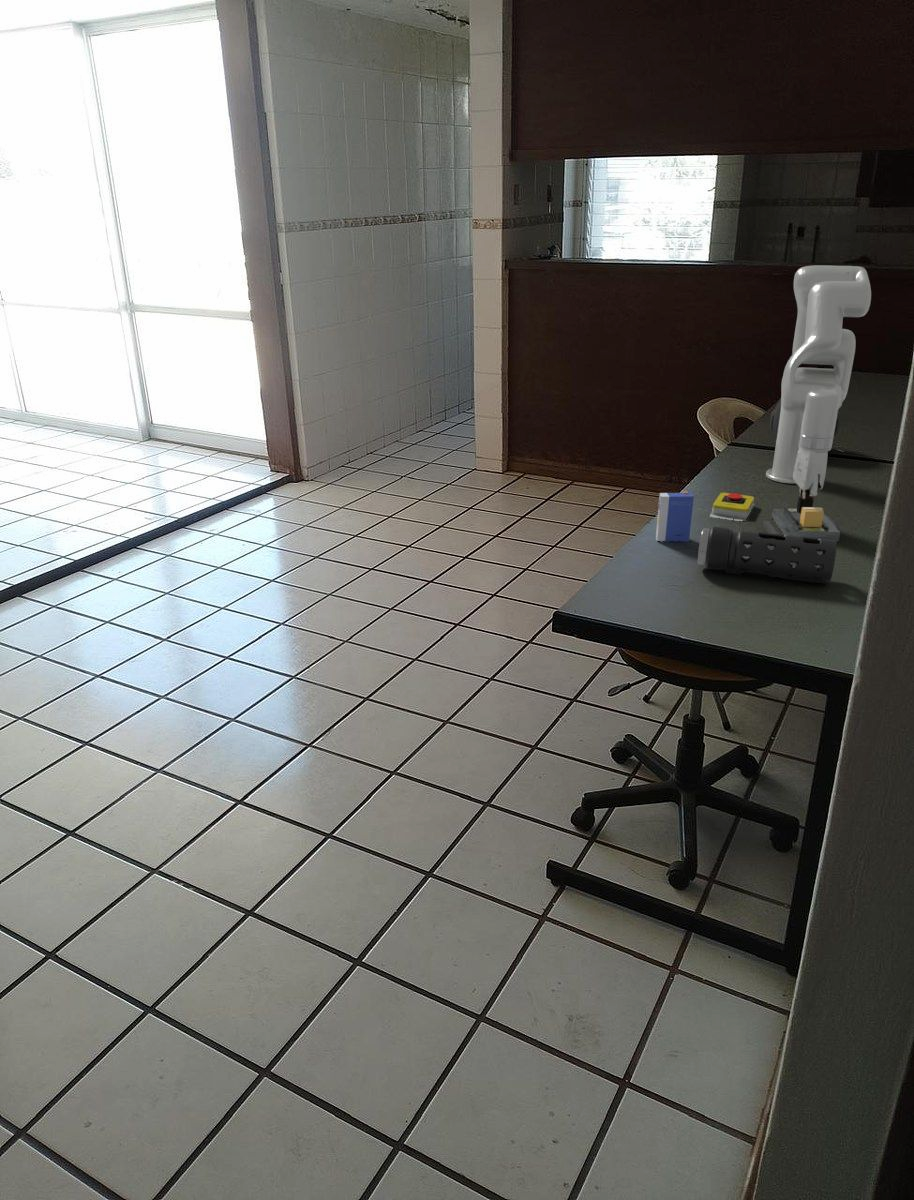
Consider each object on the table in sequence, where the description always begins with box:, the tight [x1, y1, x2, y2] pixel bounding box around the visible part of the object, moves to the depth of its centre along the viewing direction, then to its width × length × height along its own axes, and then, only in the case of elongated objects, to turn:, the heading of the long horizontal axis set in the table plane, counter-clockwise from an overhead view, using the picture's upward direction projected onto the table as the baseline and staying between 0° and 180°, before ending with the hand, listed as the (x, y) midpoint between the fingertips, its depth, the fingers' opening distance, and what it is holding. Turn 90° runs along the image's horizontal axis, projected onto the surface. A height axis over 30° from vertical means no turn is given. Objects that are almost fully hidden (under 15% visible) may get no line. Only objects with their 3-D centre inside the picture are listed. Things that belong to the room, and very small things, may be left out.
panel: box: [771, 508, 841, 543], centre depth 225 cm, size 16×12×3 cm
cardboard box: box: [800, 506, 825, 527], centre depth 220 cm, size 3×4×4 cm
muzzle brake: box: [697, 525, 837, 585], centre depth 199 cm, size 10×28×10 cm, turn 71°
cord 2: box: [826, 515, 840, 530], centre depth 227 cm, size 8×1×1 cm, turn 177°
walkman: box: [655, 491, 694, 543], centre depth 218 cm, size 8×3×12 cm, turn 89°
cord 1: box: [762, 520, 779, 534], centre depth 222 cm, size 14×1×1 cm, turn 177°
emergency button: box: [709, 492, 755, 523], centre depth 238 cm, size 9×4×15 cm
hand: (803, 512), depth 227 cm, fingers closed
